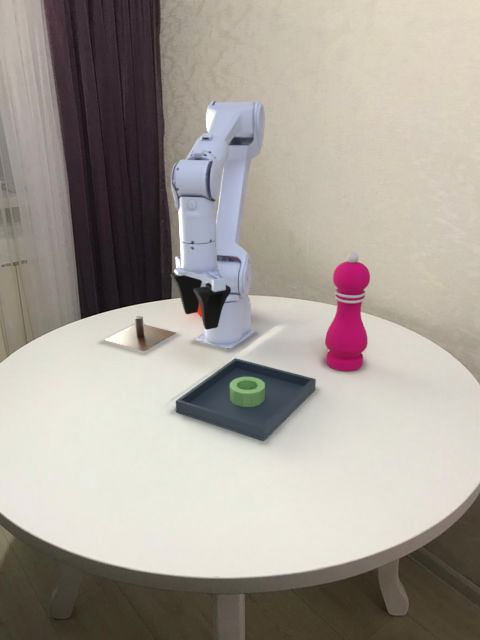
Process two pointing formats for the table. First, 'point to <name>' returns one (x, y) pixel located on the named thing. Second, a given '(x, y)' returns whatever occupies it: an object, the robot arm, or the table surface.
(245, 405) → the ring
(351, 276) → the pepper mill
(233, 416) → the tray
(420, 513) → the table surface
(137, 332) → the stand
